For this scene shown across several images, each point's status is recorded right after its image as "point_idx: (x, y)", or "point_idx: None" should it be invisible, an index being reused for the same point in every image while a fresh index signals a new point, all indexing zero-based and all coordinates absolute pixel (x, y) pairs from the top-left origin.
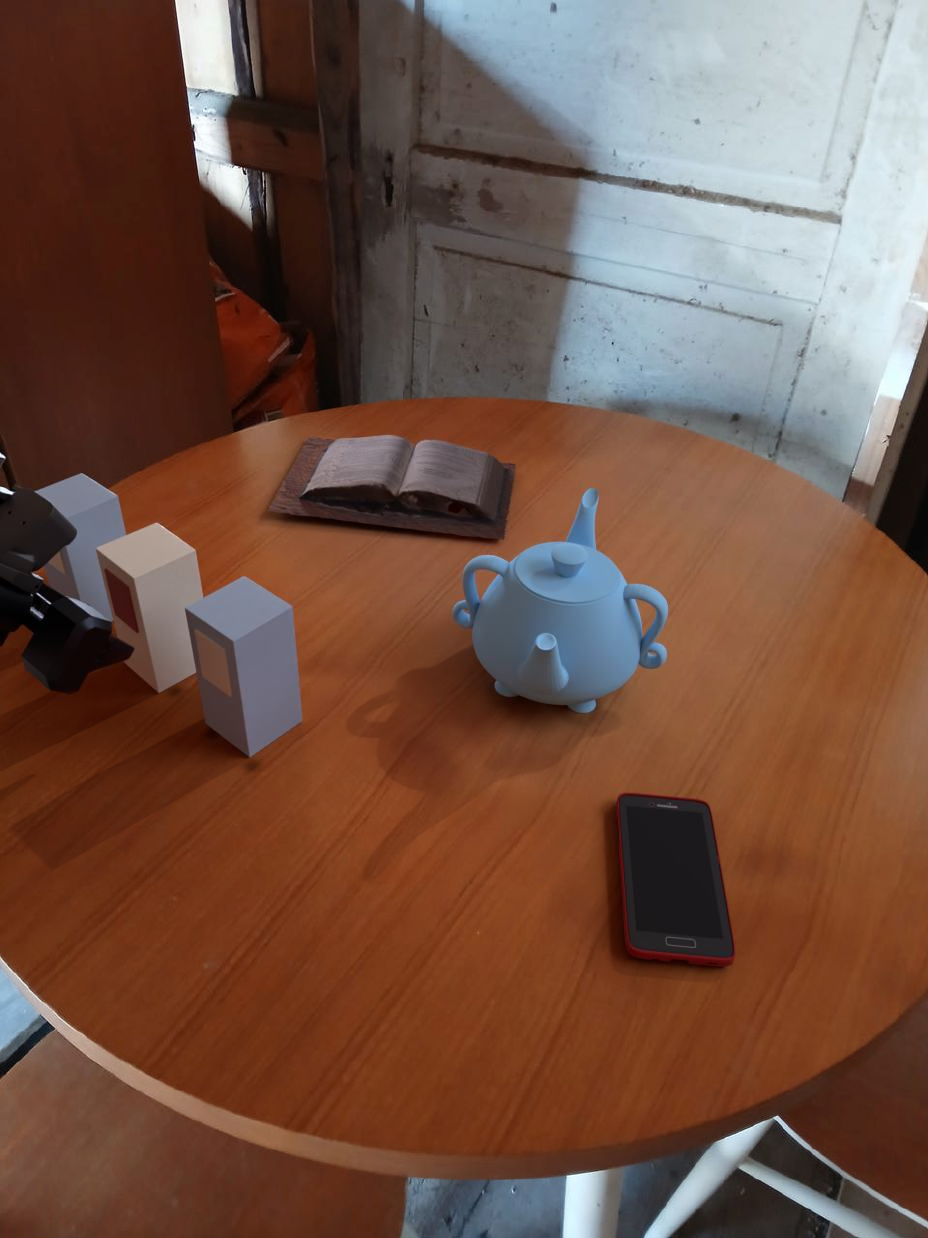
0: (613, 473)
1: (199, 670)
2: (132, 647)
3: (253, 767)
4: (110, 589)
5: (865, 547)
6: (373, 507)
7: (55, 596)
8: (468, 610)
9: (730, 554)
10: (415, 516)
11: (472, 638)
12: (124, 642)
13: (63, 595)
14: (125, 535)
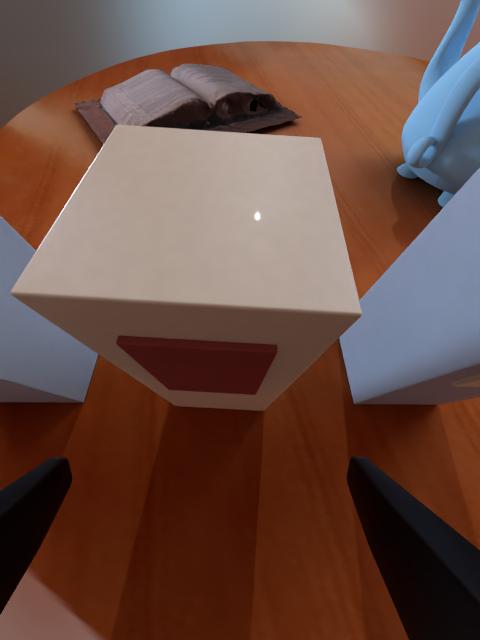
0: (286, 67)
1: (441, 381)
2: (374, 465)
3: (455, 411)
4: (156, 370)
5: (426, 64)
6: (197, 129)
7: (9, 526)
8: (434, 144)
9: (394, 85)
10: (232, 124)
11: (448, 169)
12: (415, 501)
13: (31, 487)
14: (18, 235)
